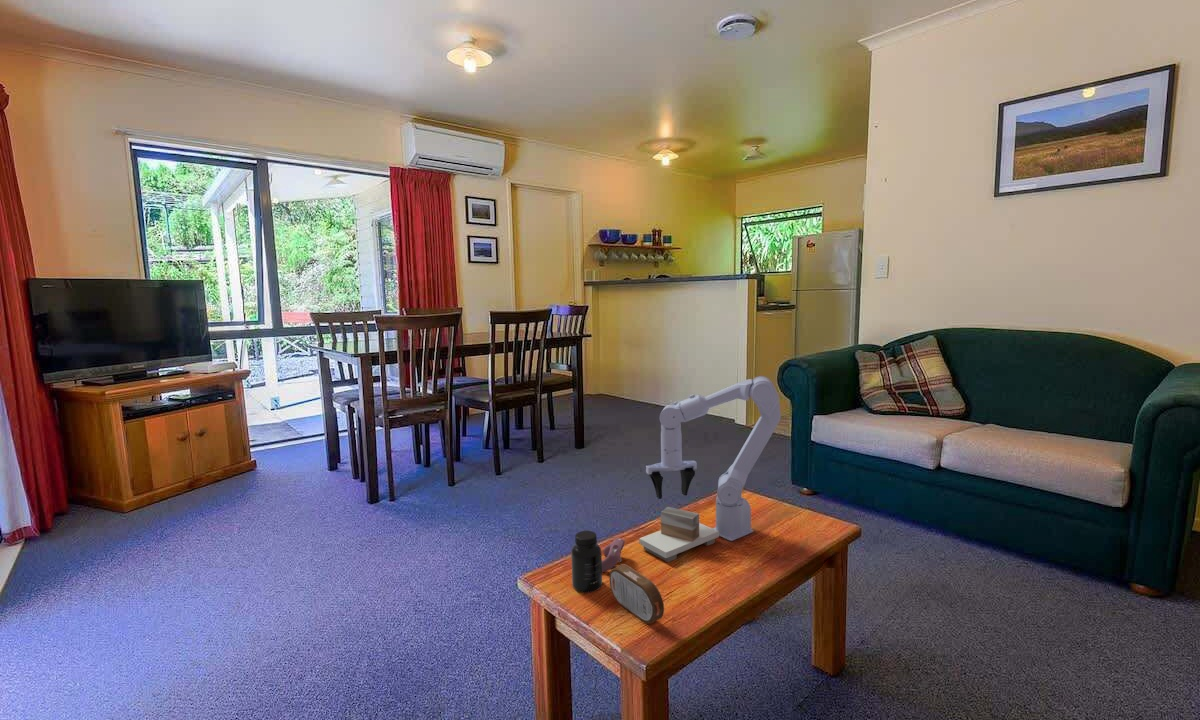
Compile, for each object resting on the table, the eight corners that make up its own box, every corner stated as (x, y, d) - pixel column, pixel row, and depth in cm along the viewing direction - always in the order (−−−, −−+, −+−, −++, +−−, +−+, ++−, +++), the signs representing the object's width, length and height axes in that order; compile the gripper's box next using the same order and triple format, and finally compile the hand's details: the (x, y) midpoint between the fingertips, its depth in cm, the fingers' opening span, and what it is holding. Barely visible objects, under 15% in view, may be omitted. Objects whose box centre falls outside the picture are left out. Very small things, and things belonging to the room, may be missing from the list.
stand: (691, 529, 146) (691, 519, 146) (718, 542, 138) (718, 531, 138) (639, 549, 135) (639, 538, 135) (666, 564, 127) (665, 552, 126)
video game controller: (611, 580, 123) (624, 556, 122) (594, 571, 123) (606, 546, 122) (618, 560, 133) (629, 537, 131) (602, 551, 133) (613, 528, 132)
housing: (668, 528, 140) (667, 506, 139) (699, 535, 135) (699, 513, 134) (661, 533, 137) (660, 511, 136) (692, 541, 132) (692, 518, 131)
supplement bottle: (567, 582, 119) (565, 532, 118) (593, 574, 123) (591, 525, 121) (580, 597, 113) (579, 544, 112) (608, 588, 117) (606, 536, 115)
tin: (665, 627, 102) (664, 586, 101) (653, 633, 100) (652, 591, 100) (618, 593, 114) (618, 557, 114) (607, 598, 113) (606, 561, 112)
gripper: (652, 455, 139) (652, 504, 140) (701, 449, 143) (702, 497, 144) (642, 448, 146) (643, 495, 147) (690, 443, 150) (690, 489, 151)
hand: (671, 496), depth 146 cm, fingers open, 7 cm apart
